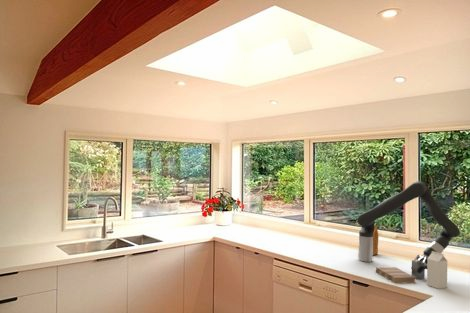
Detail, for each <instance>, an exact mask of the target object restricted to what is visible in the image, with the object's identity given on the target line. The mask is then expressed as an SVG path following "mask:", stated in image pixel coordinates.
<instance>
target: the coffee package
mask: <svg viewBox="0 0 470 313" xmlns="http://www.w3.org/2000/svg"><path fill="white" fill-rule="evenodd" d="M377 254H379V231H378V225H375V227H374V233H373V256H375V255H377Z"/></svg>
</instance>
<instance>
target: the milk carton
mask: <svg viewBox="0 0 470 313" xmlns="http://www.w3.org/2000/svg"><path fill="white" fill-rule="evenodd" d="M426 270H427V271H426V272H427V273H426V285H427V286H430V287H431V288H435V289H437V290H438V289H439V290H441V289H445V288H448V260H447V258H446V257H445V255H444V253H443V252H442V253H438V252H434V251H432V253H431V254H430V256H429V257H428V258H427V269H426Z"/></svg>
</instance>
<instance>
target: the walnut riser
mask: <svg viewBox="0 0 470 313" xmlns="http://www.w3.org/2000/svg"><path fill="white" fill-rule="evenodd" d="M375 273H377V274H378V275H380V276H382V277H383V276H384V278H385V277H386V278H385V279H387V280H389V281H390V280H391V282H392V283H395V284H397V283H399V284H400V283H401V282H408V283H416V279H415V277H414V276H412V274H410V273H408V272H406V271H404V270H402V269H400V268H398V267H397V266H396V267H395V266H385V267H384V266H380V267H379V266H377V267H375ZM401 284H402V283H401Z"/></svg>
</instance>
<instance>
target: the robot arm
mask: <svg viewBox="0 0 470 313" xmlns="http://www.w3.org/2000/svg"><path fill="white" fill-rule="evenodd" d="M416 198H420V199H421V200H422V201H423V203H424V205H425V206H426V207H427V211H428V212H429V214H430V216H431V217H432V218H433V219H434V221H435V222H436V223H437V224H438V225H439V226H441V227H442V228H443V229H442V230H441V231H440V233H439V235H438V236H437V237H436V238H435V239H434V240H433V241H432V242H431V243H430V244H429V245H428V246H427V247H426V248H425V249H424V250H423V254H422V255H419V254H417V255H416V257H415V258H414V260H421V261H423V264H422V267H420V268H419V269H418V270H417V272H418V273H421V272H422V271H423V270H424V269H425V270H427V258H428V257H429V256H430V254H431V253H432V251H434V252H438V253H442V254H443V251H444V250H445V249H446V248H447V247H448V246H449V244H450V241H451V240H452V239H453V238H458V237H459V236H460V234H461V231H460V228H459V227H458V226H457V225H456V223H454V222H453V221H452V220H451V219H450V218H449V217H448V215H446V213H445V212H444V210H443V208H441V206H440V205H439V204H438V202H437V201H436V199H435V198H434V196H433V195H432V193H431V192H430V189H429V188H428V185H427V184H426V183H425V182H424V181H421V180H417V181H415V182H412V183H411V184H410V185H409V186H407V187H406V188H405V189H403V190H402V191H401V192H398V193H397V194H394V195H391V196H390V197H388V198H386V199H384V200H383V201H382V202H380V203H378V204H377V205H376V206H375V207H373V208H371V209H370V210H368V211H366V212H364V213H360V214H359V216H357V220H356V221H357V223H358V225H359V226H361V228H360V230H359V233H358V234H359V235H358V256H357V257H358V260H359V261H360V262H366V263H372V262H373V256H374V255H373V233H374V227H375V226H376V224H375V223H376V222H375V221H376V220H378V219H380V218H382V217H385V216H388V215H390V214H392V213H394V212H396V211H397V210H399V209H401V208H402V207H403V206H405V205H406V204H407V203H409V202H411V201H412V200H415V199H416ZM424 265H425V266H424ZM410 268H411V270H412V266H411V267H410Z"/></svg>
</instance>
